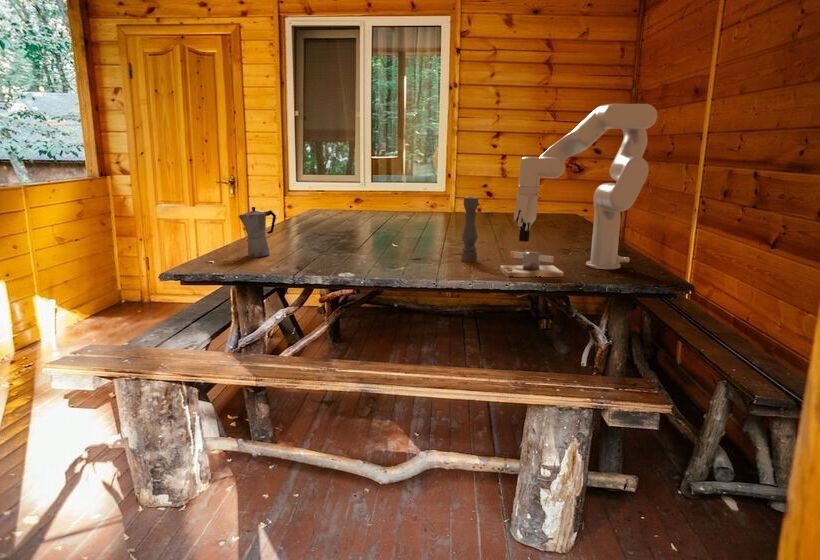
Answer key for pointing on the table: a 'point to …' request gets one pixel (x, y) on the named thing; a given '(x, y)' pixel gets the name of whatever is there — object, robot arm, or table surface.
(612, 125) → the robot arm
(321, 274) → the table surface
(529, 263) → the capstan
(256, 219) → the moka pot
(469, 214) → the candle holder
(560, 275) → the stand
